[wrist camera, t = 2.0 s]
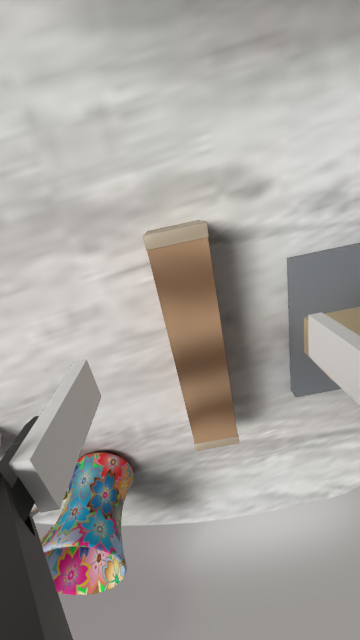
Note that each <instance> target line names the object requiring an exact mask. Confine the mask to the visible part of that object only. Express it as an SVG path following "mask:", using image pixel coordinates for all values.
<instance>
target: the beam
mask: <svg viewBox="0 0 360 640" xmlns="http://www.w3.org/2000/svg"><path fill="white" fill-rule="evenodd" d="M208 237H209V235H208V228H207V222H204V221H200V220H196V221H192V222H187V223H183V224H178V225H173V226H169V227H164V228H160V229H155V230H151V231H147V232H146V233H145V234H144V235H143V239H144V243H145V247H146V250H147V252H148V256H149V260H150V264H151V268H152V272H153V276H154V280H155V284H156V288H157V292H158V296H159V300H160V304H161V308H162V312H163V316H164V321H165V325H166V329H167V333H168V337H169V341H170V345H171V349H172V353H173V357H174V361H175V365H176V369H177V373H178V377H179V381H180V385H181V389H182V393H183V397H184V401H185V405H186V409H187V413H188V417H189V422H190V426H191V430H192V434H193V438H194V444H195V448H196V451H200V450H206V449H211V448H216V447H222V446H227V445H233V444H238V443H239V437H238V433H237V428H236V421H235V414H234V408H233V401H232V394H231V388H230V381H229V374H228V368H227V361H226V354H225V348H224V341H223V334H222V327H221V321H220V314H219V307H218V301H217V294H216V287H215V281H214V274H213V267H212V261H211V254H210V247H209V241H208Z"/></svg>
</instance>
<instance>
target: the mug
mask: <svg viewBox="0 0 360 640" xmlns="http://www.w3.org/2000/svg"><path fill="white" fill-rule="evenodd" d="M133 481H134V472H133V470H132V468H131V466H130V465H129V463H128V462H127V461H125V460H124V459H122V458H121V457H119V456H116V455H113V454H109V453H91V454H87V455H85V456H82V457H81V458H79V459H78V461H77V464H76V466H75V469H74V472H73V475H72V477H71V480H70V483H69V491H68V496H67V491H66V493H65V496H64V499H66V498H67V499H66V502H65V505H64V508H63V510H62V512H61V514H60V517H59V519H58V520H57V522H56V524H55V526H54V527H51V528H50V530H49V531H48V533H47V534H46V535H45V536H44V537H43V538H42V539H41V540H40V542H41V545H42V548H43V551H44V554H45V557H46V560H47V563H48V566H49V569H50V572H51V575H52V578H53V581H54V584H55V587H56V590H57V592H59V593H64V594H72V595H88V594H95V593H99V592H103V591H106V590H109V589H111V588H113V587H114V586H116V585H117V584H119V583H120V582H121V581H122V579H123V578H124V576H125V574H126V569H127V567H126V561H125V557H124V552H123V546H122V538H121V517H122V509H123V504H124V500H125V497H126V495H127V492H128V490H129V489H130V487H131V486H132V484H133ZM64 499H63V500H64ZM39 511H40V510H39V509H38V507H37V508H35V509H34V510H32V511H31V512H30V515H31V517H33V516H34V515H35V514H37V513H38V512H39Z"/></svg>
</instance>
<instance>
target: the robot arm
mask: <svg viewBox="0 0 360 640" xmlns="http://www.w3.org/2000/svg"><path fill="white" fill-rule="evenodd" d="M308 343H309V357H310V358H311V359H312V360H313V361H314V362H315V363H316V364H317V365H318V366H319V367H320V368H321V369H322V370H323V371H324V372H325V373H326V374H327V375H328V376H329V377H330V378H331V379H332V380H333V381H334V382H335V383H336V384H337V385H338V386H339V387H340V388H341V389H342V390H343V391H345V392H346V393H347V394H348V395H349V396H350V397H351V398H352V399H353V400H354V401H355V402H356V403H357V404H358V405H359V406H360V336H359V335H357V334H356V333H354V332H353V331H351V330H349V329H348V328H346V327H345V326H343V325H341V324H340V323H338V322H337V321H335V320H333V319H332V318H330V317H329V316H327V315H325V314H324V313H322V312H320V313H315V314H310V315H308ZM100 399H101V394H100V392H99V389H98V387H97V384H96V382H95V379H94V377H93V374H92V372H91V369H90V367H89V364H88V362H87V360H82V361H77V362H74V363H73V365H72V366H71V368H70V369H69V371H68V372H67V374H66V375H65V377H64V379H63V380H62V382H61V383H60V385H59V386H58V388H57V389H56V391H55V392H54V394H53V396H52V397H51V399H50V400H49V402H48V403H47V405H46V406H45V408H44V410H43V411H42V413H41V414H40V416H36V417H34V418H33V419H32V420H31V421H29V422H28V423H27V424H26V425H25V426H24V428H23V429H22V431H21V432H20V434H19V435H18V437H17V438H16V439H15V441H14V442H13V445H11V447H10V448H9V450H8V451H7V453H6V454H5V456H4V457H3V458H2V460H1V461H0V640H73V638H72V635H71V632H70V629H69V626H68V623H67V620H66V618H65V614H64V611H63V608H62V605H61V602H60V599H59V596H58V593H57V590H56V587H55V584H54V581H53V578H52V575H51V572H50V569H49V566H48V563H47V560H46V557H45V554H44V551H43V548H42V545H41V542H40V539H39V536H38V532H37V529H36V526H35V523H34V520H33V518H32V517H31V515H30V512H31V509H32V507H33V505H34V503H35V504H36V506H37V507H38V509H39V510H40V512H46V511H52V510H57V509H60V507H61V504H62V502H63V499H64V496H65V493H66V491H67V488H68V485H69V483H70V480H71V477H72V475H73V472H74V469H75V466H76V464H77V461H78V458H79V456H80V453H81V450H82V447H83V445H84V442H85V439H86V437H87V434H88V431H89V429H90V426H91V423H92V420H93V418H94V415H95V412H96V410H97V407H98V404H99V402H100Z"/></svg>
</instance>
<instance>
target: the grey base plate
mask: <svg viewBox="0 0 360 640" xmlns="http://www.w3.org/2000/svg"><path fill="white" fill-rule="evenodd" d="M287 275H288V308H289V341H290V374H291V391H292V393H293V394H294V396H295V397H300V396H305V395H310V394H316V393H321V392H326V391H332V390H337V389H341V388H340V387H339V386H338V385H337V384H336V383H335V382H334V381H333V380H332V379H331V378H330V377H329V376H328V375H327V374H326V373H325V372H324V371H323V370H322V369H321V368H320V367H319V366H318V365H317V364H316V363H315V362H314V361H313V360H312V359H311V358H310V357H309V343H308V315H310V314H315V313H320V312H322V313H324V314H325V315H327V316H329V317H330V318H332V319H333V320H335V321H337V322H338V323H340V324H341V325H343V326H345V327H346V328H348V329H349V330H351V331H353V332H354V333H356V334H357V335H359V336H360V243H357V244H352V245H347V246H343V247H338V248H333V249H328V250H324V251H319V252H314V253H309V254H304V255H300V256H295V257H290V258H287Z"/></svg>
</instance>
